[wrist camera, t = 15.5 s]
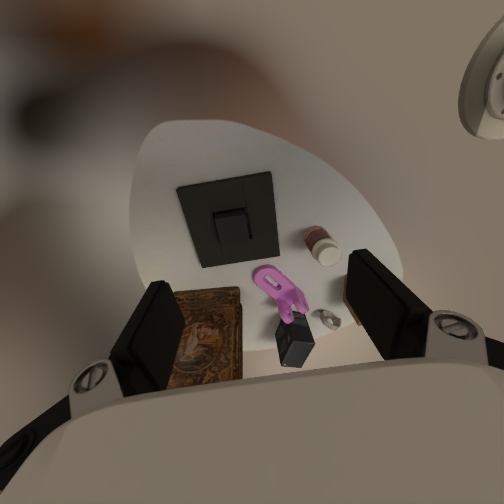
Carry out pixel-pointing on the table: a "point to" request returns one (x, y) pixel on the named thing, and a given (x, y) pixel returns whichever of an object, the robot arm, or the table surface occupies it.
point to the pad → (232, 226)
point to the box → (294, 341)
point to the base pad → (225, 198)
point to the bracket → (281, 292)
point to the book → (209, 338)
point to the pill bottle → (322, 246)
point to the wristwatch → (335, 320)
